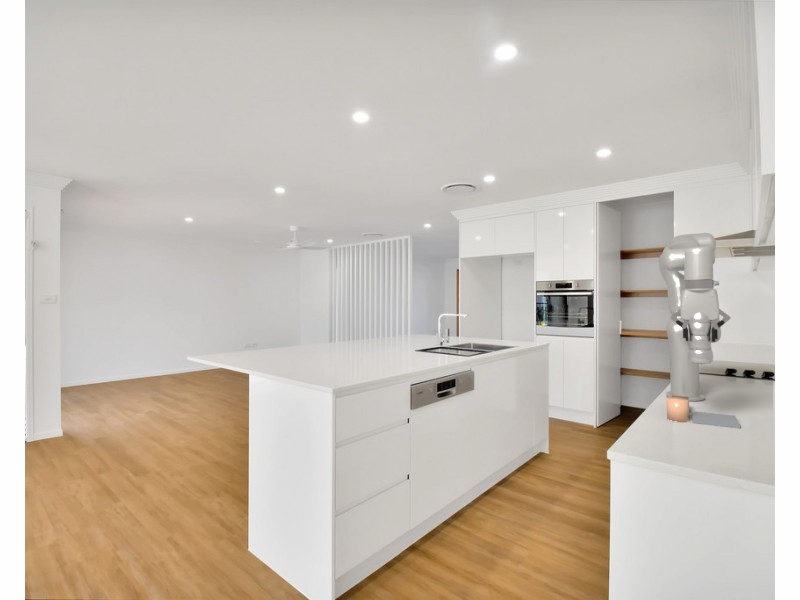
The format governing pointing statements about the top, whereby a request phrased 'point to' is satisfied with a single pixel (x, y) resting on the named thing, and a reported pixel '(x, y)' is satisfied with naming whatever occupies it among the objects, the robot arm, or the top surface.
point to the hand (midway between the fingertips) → (699, 340)
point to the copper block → (683, 397)
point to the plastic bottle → (700, 339)
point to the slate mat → (715, 419)
